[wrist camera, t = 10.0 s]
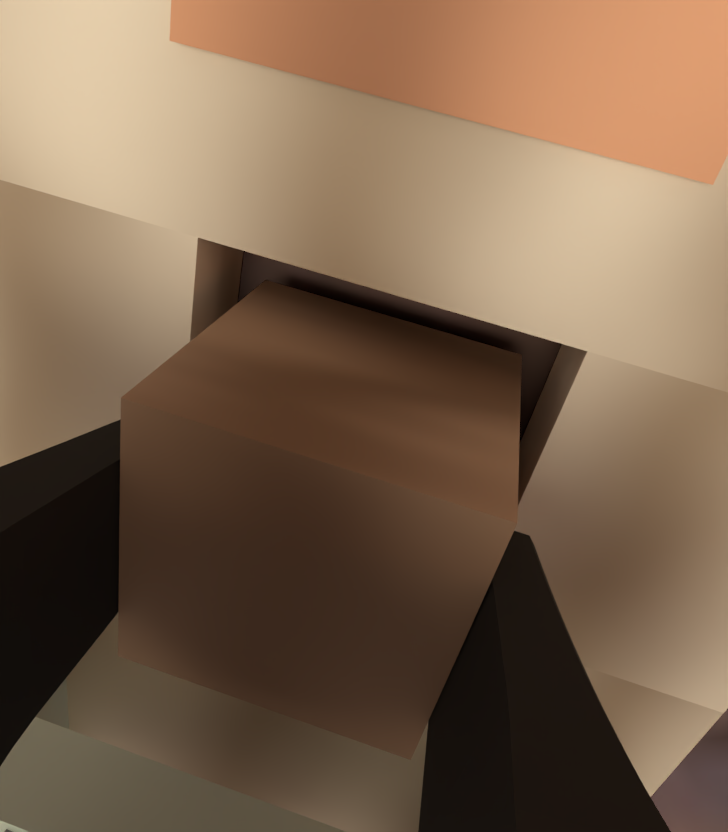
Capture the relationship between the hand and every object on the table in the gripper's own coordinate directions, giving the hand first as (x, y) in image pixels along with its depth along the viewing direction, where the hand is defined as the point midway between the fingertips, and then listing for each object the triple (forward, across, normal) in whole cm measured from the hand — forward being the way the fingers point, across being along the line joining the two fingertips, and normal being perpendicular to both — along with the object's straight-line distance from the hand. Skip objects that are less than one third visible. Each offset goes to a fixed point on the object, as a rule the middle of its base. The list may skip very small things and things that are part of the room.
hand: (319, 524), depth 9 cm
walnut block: (+3, 0, 0) cm, 3 cm away
